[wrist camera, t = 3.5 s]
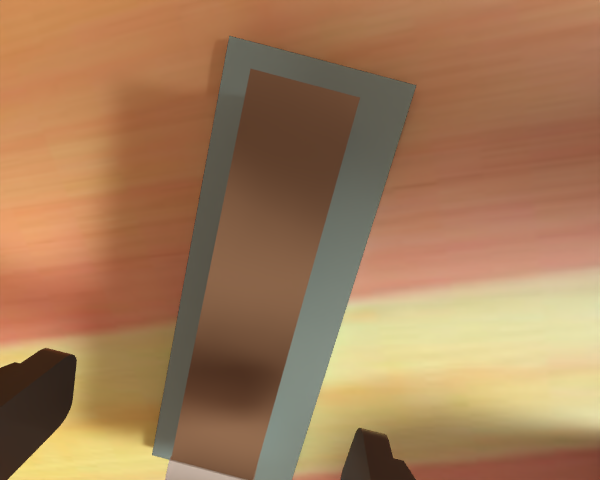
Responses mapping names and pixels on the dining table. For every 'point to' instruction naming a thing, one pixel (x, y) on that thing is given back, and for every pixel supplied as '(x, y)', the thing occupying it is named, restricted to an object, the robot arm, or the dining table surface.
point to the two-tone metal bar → (259, 271)
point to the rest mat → (331, 251)
